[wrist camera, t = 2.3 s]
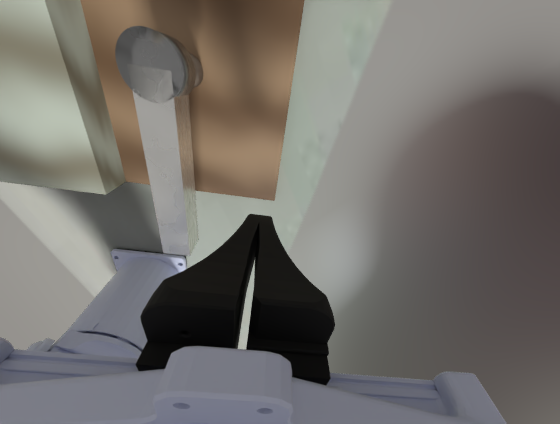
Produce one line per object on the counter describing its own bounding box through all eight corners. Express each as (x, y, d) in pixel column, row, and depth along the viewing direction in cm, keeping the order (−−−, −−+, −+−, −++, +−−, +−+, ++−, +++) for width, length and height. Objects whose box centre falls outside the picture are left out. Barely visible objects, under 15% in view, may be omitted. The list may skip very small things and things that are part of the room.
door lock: (274, 195, 20) (272, 238, 15) (14, 161, 19) (-97, 195, 13) (311, -55, 12) (337, -168, 7) (-152, -156, 10) (-636, -418, 5)
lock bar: (134, 28, 11) (107, 19, 9) (194, 39, 11) (178, 32, 9) (168, 235, 18) (156, 252, 16) (204, 240, 18) (196, 256, 17)
